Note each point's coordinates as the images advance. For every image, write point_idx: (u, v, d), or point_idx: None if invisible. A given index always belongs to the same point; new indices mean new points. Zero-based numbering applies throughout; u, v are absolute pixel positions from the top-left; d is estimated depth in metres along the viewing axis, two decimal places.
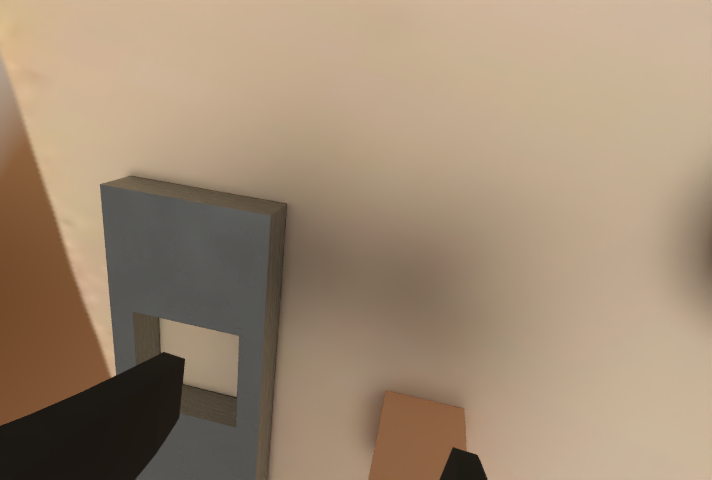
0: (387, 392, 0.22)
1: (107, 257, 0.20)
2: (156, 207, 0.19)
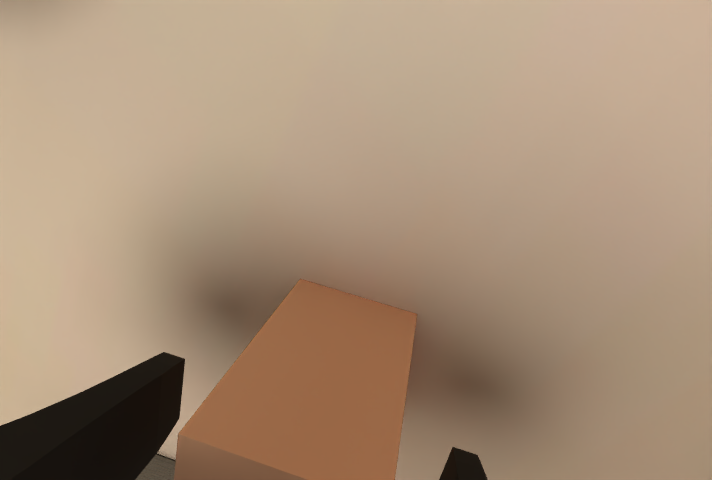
0: None
1: None
2: None
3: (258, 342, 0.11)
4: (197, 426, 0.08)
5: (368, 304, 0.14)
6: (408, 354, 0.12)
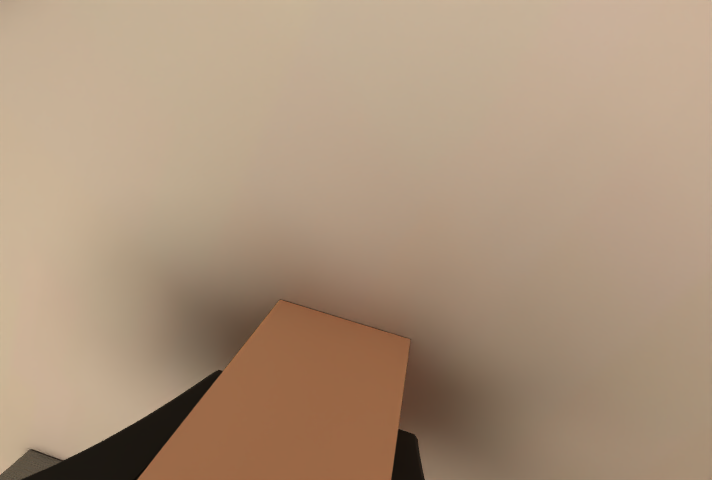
0: None
1: None
2: None
3: (224, 381, 0.09)
4: None
5: (356, 328, 0.12)
6: (399, 391, 0.10)
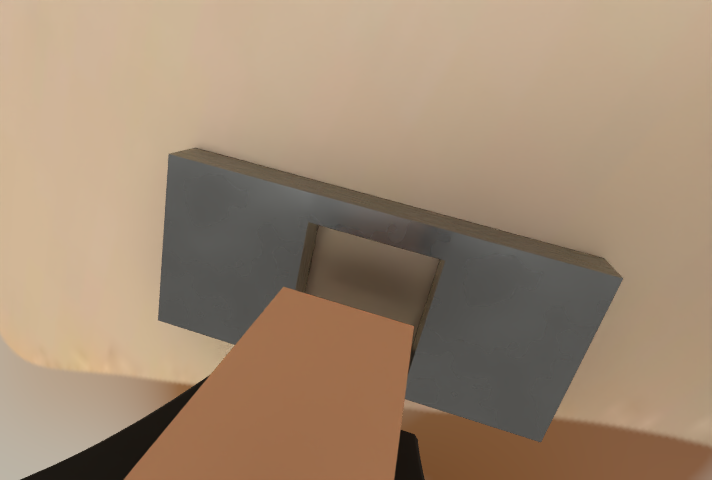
0: None
1: (227, 341, 0.20)
2: (173, 272, 0.19)
3: (229, 363, 0.09)
4: (143, 475, 0.07)
5: (359, 315, 0.12)
6: (404, 374, 0.10)
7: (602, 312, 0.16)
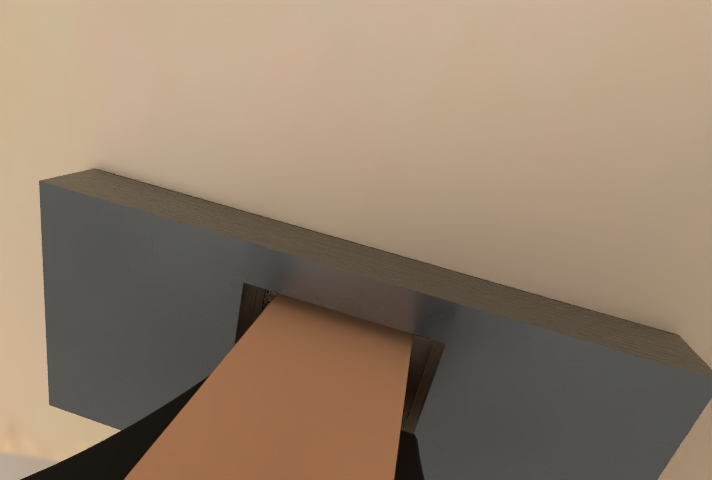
0: None
1: None
2: (62, 344, 0.14)
3: (229, 363, 0.09)
4: (143, 475, 0.07)
5: None
6: (404, 375, 0.10)
7: (685, 427, 0.11)
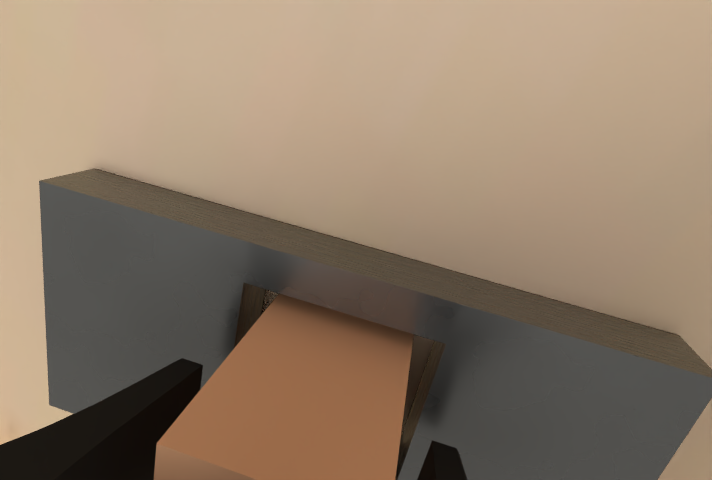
0: None
1: None
2: (62, 344, 0.14)
3: (248, 342, 0.10)
4: (178, 435, 0.07)
5: None
6: (407, 355, 0.11)
7: (686, 427, 0.11)
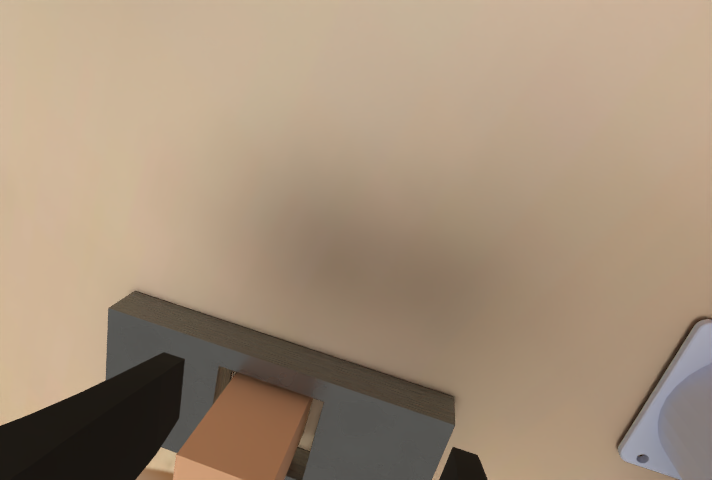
0: None
1: None
2: None
3: (219, 402, 0.20)
4: (185, 450, 0.17)
5: None
6: (303, 407, 0.21)
7: (442, 447, 0.21)
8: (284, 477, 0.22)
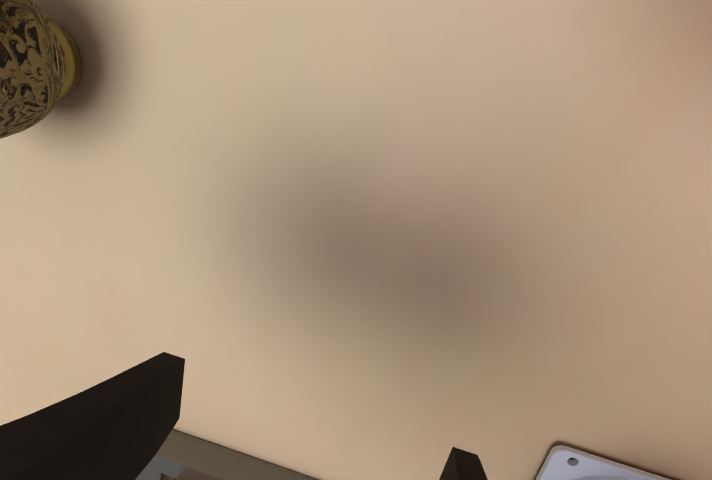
0: None
1: None
2: None
3: None
4: None
5: None
6: None
7: None
8: None
